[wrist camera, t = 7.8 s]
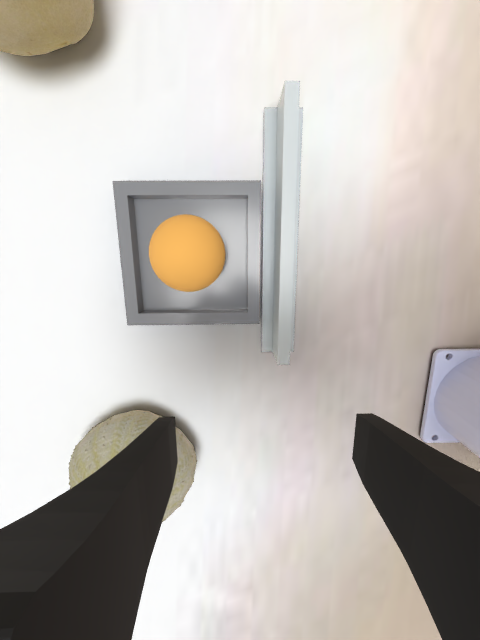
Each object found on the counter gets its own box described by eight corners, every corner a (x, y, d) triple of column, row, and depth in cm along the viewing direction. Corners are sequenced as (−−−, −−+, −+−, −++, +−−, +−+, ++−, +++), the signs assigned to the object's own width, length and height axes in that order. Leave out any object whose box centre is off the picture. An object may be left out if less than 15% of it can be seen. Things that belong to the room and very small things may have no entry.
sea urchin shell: (43, 434, 20) (70, 478, 14) (141, 383, 25) (190, 401, 20) (87, 530, 22) (126, 602, 16) (169, 464, 27) (221, 502, 22)
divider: (301, 110, 17) (315, 80, 14) (292, 349, 21) (301, 364, 18) (263, 110, 17) (269, 80, 14) (261, 350, 21) (265, 365, 18)
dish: (258, 187, 18) (260, 180, 17) (257, 318, 20) (259, 323, 19) (123, 188, 18) (112, 181, 16) (136, 319, 20) (127, 325, 18)
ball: (225, 220, 18) (224, 208, 14) (226, 287, 19) (225, 296, 15) (157, 219, 18) (134, 207, 14) (161, 287, 19) (141, 296, 15)
